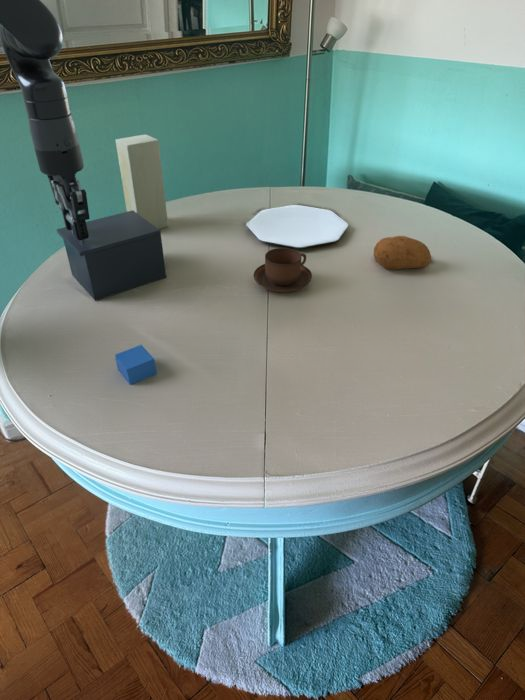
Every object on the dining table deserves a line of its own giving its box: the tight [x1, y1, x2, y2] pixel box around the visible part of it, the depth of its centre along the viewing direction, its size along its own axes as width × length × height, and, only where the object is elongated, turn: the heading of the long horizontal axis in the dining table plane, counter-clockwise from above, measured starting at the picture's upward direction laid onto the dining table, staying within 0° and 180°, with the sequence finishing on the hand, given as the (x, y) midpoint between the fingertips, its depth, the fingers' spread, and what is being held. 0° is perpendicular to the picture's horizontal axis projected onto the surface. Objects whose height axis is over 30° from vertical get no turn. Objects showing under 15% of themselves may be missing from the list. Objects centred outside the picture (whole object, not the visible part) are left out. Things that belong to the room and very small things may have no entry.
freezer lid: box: [56, 210, 162, 256], centre depth 103 cm, size 17×13×5 cm
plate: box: [246, 204, 349, 249], centre depth 128 cm, size 24×24×2 cm
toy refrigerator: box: [115, 134, 169, 230], centre depth 125 cm, size 8×7×21 cm
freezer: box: [62, 234, 167, 302], centre depth 107 cm, size 16×13×10 cm
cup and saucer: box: [253, 247, 313, 293], centre depth 106 cm, size 12×12×6 cm
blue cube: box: [114, 344, 158, 386], centre depth 82 cm, size 5×5×5 cm
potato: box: [373, 235, 432, 271], centre depth 111 cm, size 7×13×7 cm, turn 96°
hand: (77, 233), depth 100 cm, fingers closed on freezer lid, 5 cm apart
